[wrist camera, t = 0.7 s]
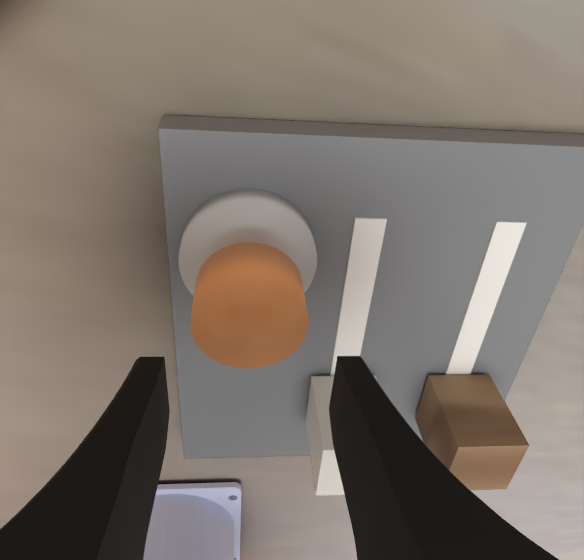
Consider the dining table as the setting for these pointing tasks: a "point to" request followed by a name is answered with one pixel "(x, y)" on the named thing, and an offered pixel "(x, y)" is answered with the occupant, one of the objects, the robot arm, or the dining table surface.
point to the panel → (365, 257)
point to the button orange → (249, 306)
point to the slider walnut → (471, 430)
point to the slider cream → (322, 438)
